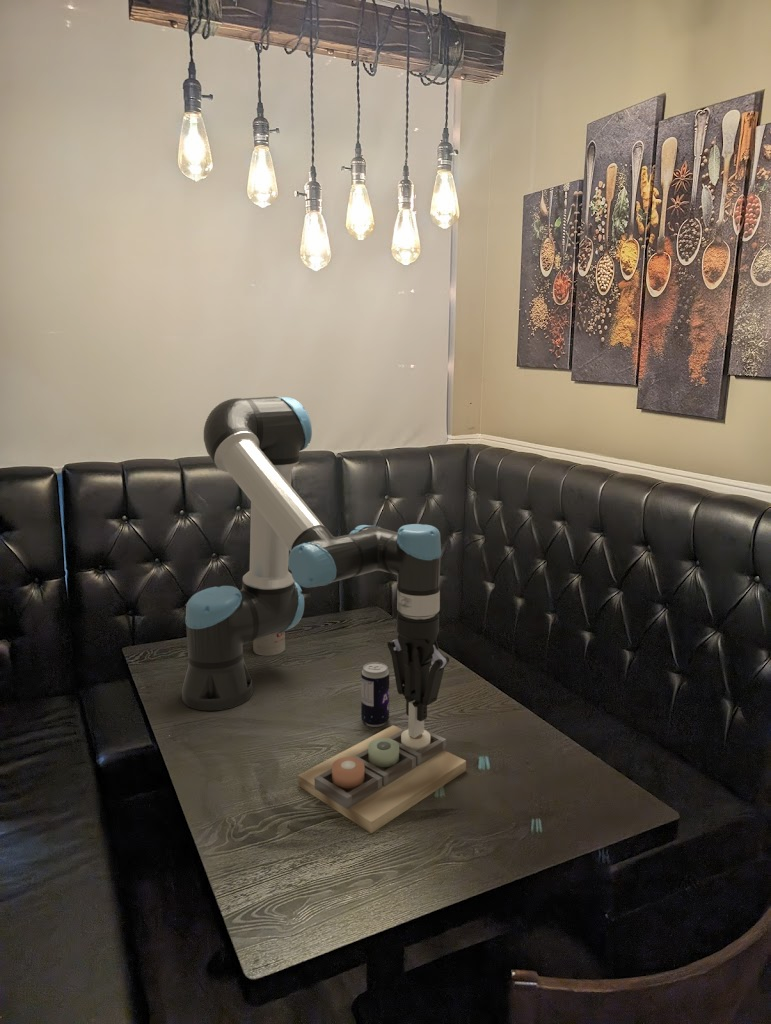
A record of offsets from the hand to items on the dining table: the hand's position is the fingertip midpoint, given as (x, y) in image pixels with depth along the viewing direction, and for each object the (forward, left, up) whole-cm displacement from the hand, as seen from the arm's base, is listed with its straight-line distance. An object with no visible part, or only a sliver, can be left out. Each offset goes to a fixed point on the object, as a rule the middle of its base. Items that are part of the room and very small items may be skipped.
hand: (416, 733), depth 129 cm
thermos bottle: (-60, +12, -5) cm, 61 cm away
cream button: (0, 0, -3) cm, 3 cm away
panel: (0, -8, -5) cm, 10 cm away
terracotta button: (0, -17, -2) cm, 17 cm away
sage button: (0, -8, -2) cm, 9 cm away
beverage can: (-15, +5, -5) cm, 17 cm away
